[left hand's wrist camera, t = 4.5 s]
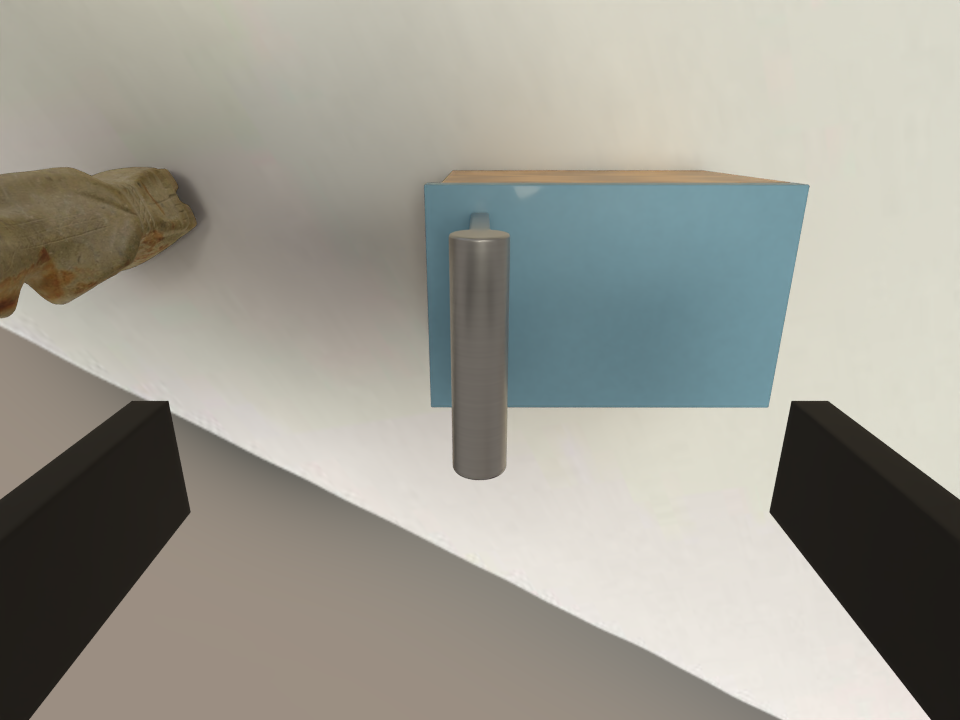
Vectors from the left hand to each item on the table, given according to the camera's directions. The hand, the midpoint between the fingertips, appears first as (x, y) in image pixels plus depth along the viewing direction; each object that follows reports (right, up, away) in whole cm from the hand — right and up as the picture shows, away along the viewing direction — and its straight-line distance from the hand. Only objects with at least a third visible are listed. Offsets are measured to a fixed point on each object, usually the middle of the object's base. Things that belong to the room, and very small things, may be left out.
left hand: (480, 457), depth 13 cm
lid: (+5, +5, +13) cm, 15 cm away
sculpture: (-20, +11, +22) cm, 31 cm away
